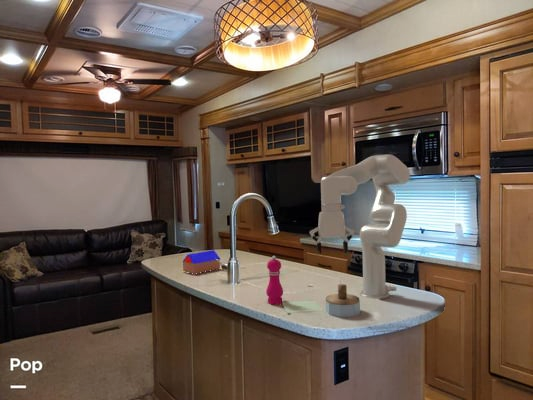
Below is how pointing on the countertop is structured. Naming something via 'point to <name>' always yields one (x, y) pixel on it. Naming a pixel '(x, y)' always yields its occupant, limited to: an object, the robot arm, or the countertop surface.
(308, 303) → the mat
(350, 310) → the bowl
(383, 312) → the countertop surface
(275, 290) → the pepper mill
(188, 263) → the house
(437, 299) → the countertop surface
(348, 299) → the lid
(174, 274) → the countertop surface
